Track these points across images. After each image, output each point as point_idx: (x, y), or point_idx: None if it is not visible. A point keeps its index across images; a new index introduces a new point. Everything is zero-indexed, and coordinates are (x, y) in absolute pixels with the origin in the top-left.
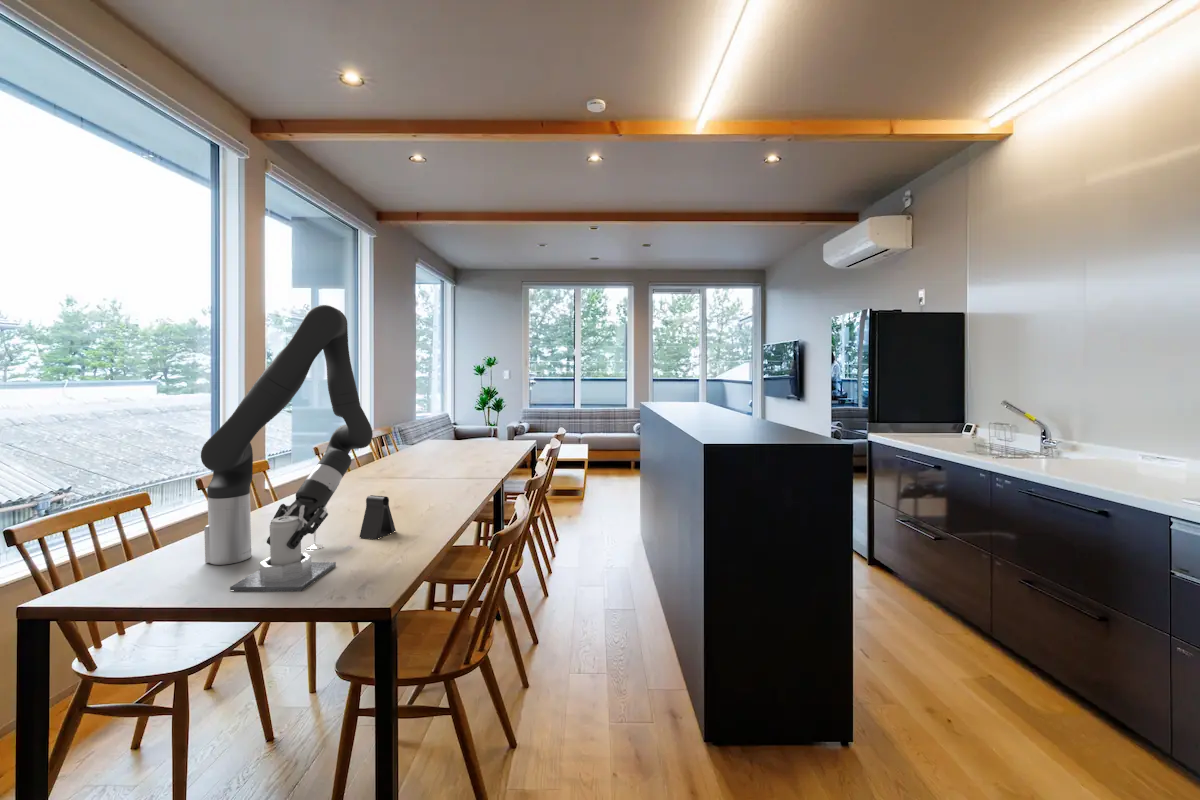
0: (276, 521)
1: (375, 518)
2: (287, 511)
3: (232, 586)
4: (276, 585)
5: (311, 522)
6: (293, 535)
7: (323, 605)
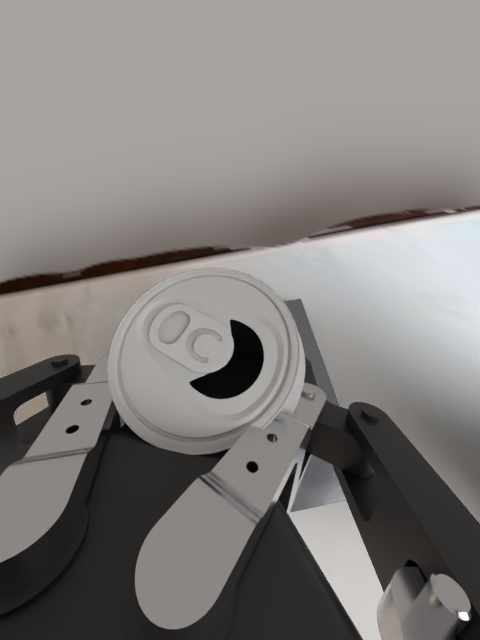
0: (219, 280)
1: None
2: (388, 617)
3: (298, 301)
4: None
5: (7, 376)
6: None
7: (72, 289)
